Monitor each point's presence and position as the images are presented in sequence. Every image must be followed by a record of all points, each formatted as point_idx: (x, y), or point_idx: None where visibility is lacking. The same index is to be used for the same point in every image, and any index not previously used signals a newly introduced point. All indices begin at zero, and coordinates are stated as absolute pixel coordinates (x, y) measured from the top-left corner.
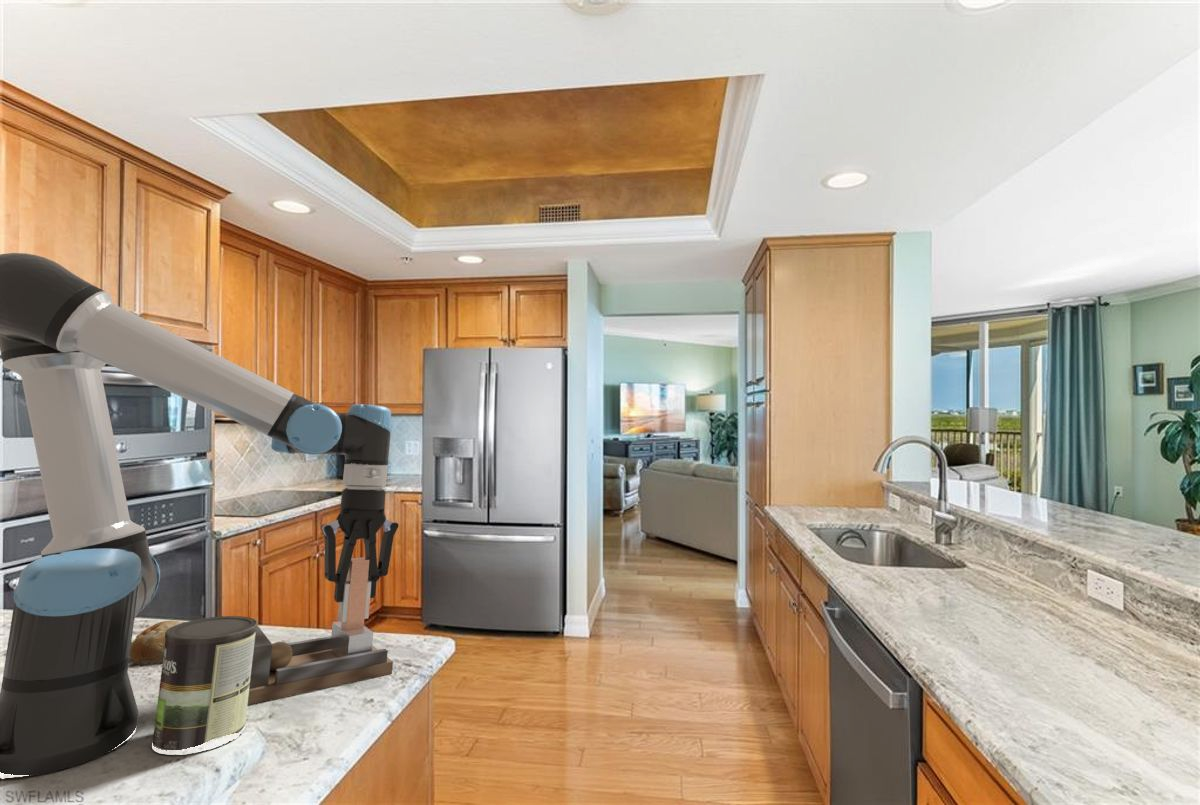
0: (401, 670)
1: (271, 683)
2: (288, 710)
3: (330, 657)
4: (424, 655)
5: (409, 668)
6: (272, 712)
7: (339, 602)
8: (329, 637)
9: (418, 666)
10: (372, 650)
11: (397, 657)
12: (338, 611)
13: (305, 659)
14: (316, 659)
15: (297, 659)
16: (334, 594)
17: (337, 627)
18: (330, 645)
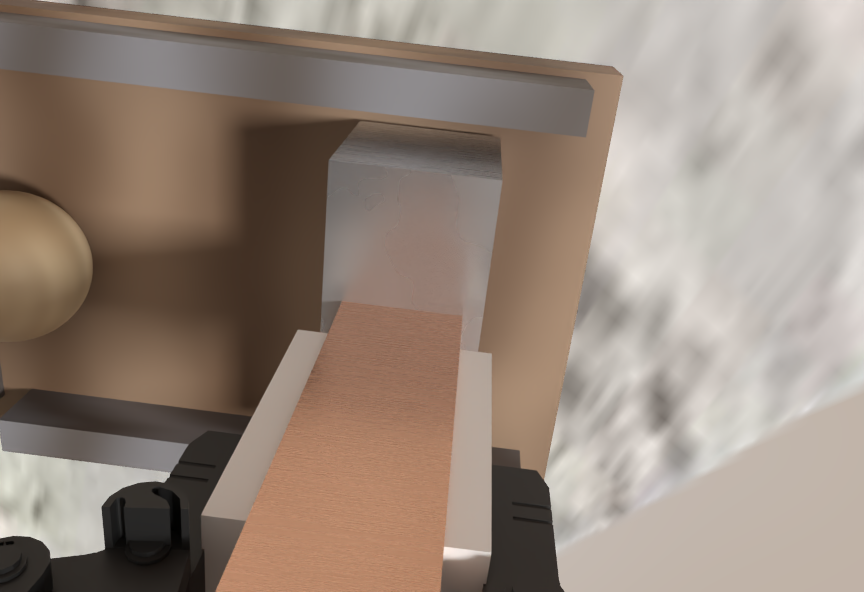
0: (592, 447)
1: (17, 391)
2: (94, 507)
3: (323, 239)
4: (807, 350)
5: (634, 450)
6: (45, 488)
7: (265, 398)
8: (354, 89)
9: (680, 455)
10: (552, 281)
11: (686, 285)
12: (285, 355)
13: (204, 182)
14: (253, 220)
15: (166, 155)
16: (177, 465)
17: (324, 282)
18: (357, 124)
